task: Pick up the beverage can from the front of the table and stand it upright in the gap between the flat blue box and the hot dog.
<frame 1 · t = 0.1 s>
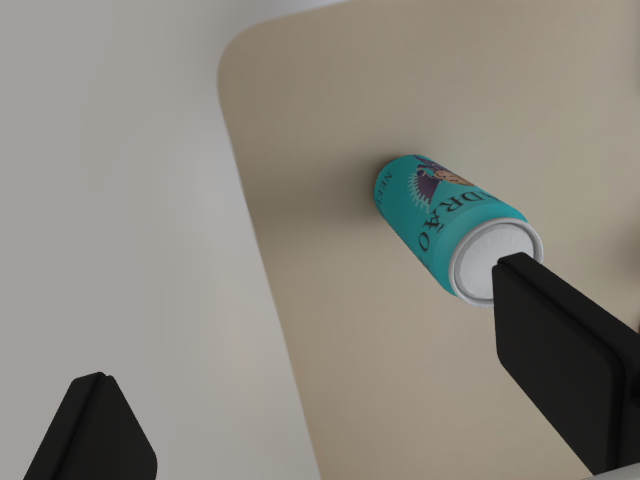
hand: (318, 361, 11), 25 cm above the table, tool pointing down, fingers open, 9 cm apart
beverage can: (401, 184, 37), on the table
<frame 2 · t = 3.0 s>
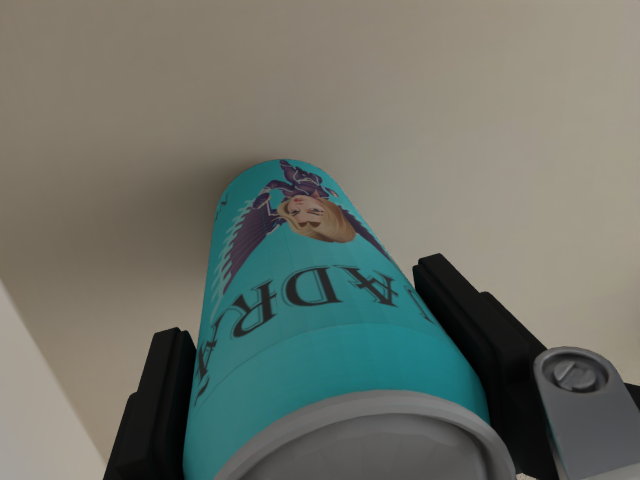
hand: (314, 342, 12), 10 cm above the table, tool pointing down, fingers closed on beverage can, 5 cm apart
beverage can: (279, 211, 21), on the table, touching gripper
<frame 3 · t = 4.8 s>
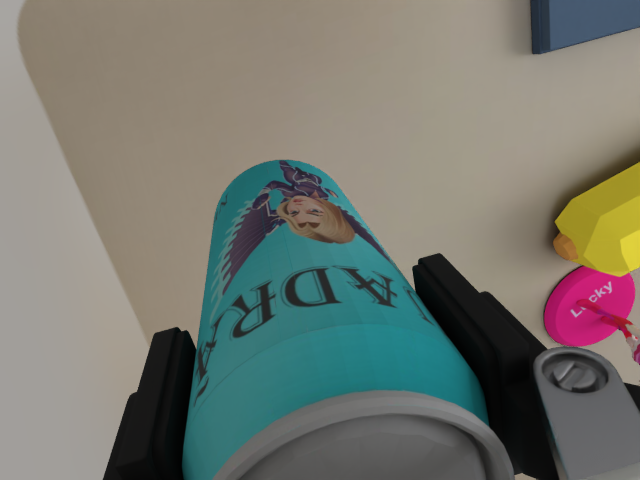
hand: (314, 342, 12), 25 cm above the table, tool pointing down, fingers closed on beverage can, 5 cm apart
figurine: (587, 303, 45), on the table
beverage can: (279, 211, 21), point 14 cm above the table, touching gripper
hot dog: (629, 191, 41), on the table
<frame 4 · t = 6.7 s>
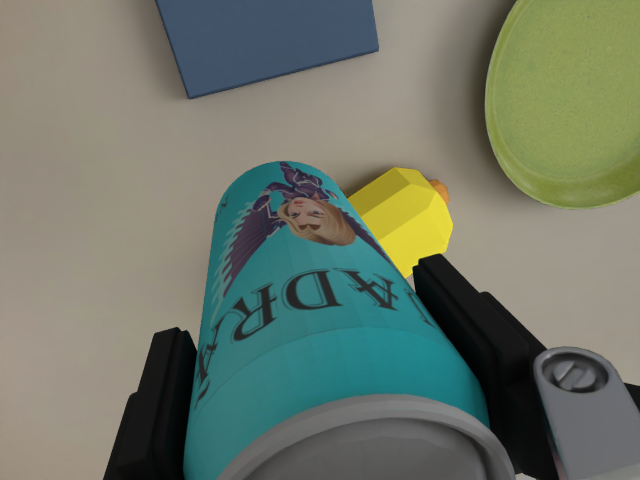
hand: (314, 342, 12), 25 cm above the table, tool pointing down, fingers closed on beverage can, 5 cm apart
flat blue box: (269, 14, 31), on the table
saucer: (584, 77, 37), on the table
beverage can: (280, 212, 21), point 15 cm above the table, touching gripper
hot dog: (347, 236, 39), on the table
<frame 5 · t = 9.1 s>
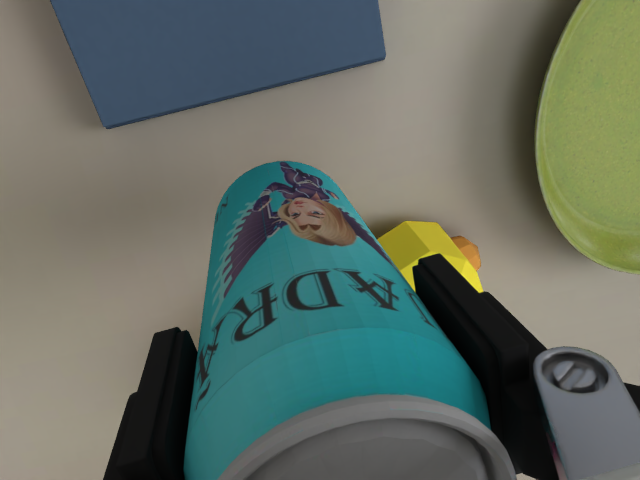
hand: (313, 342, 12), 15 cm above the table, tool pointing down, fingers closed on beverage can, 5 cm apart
flat blue box: (224, 5, 21), on the table
beverage can: (280, 212, 21), point 5 cm above the table, touching gripper
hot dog: (339, 306, 29), on the table
when the fingers open (10 cm above the table, at t = 10.8 s): beverage can stays where it is, on the table.
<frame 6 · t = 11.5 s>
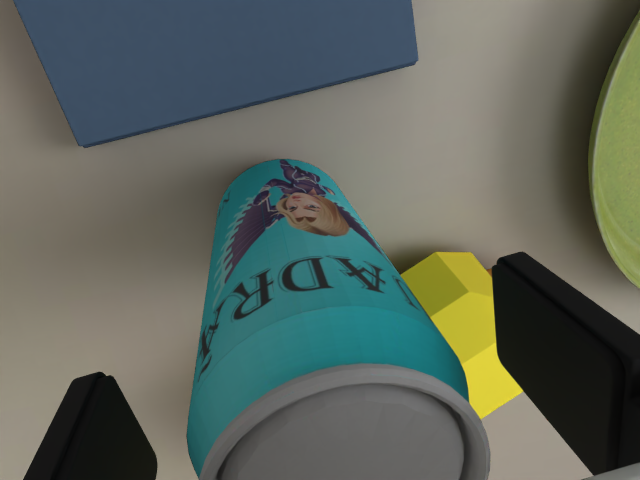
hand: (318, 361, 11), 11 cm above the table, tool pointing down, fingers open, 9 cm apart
beverage can: (280, 209, 21), on the table
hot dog: (356, 345, 25), on the table
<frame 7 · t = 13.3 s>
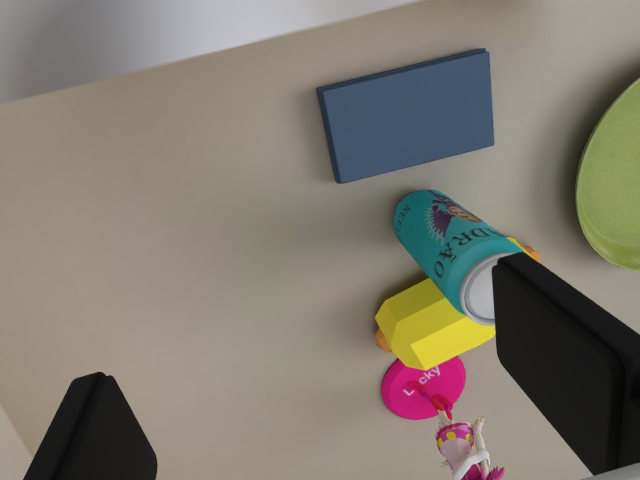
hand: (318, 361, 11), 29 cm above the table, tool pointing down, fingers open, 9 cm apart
flat blue box: (405, 117, 38), on the table
figurine: (422, 382, 50), on the table
beverage can: (416, 213, 42), on the table
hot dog: (447, 289, 46), on the table
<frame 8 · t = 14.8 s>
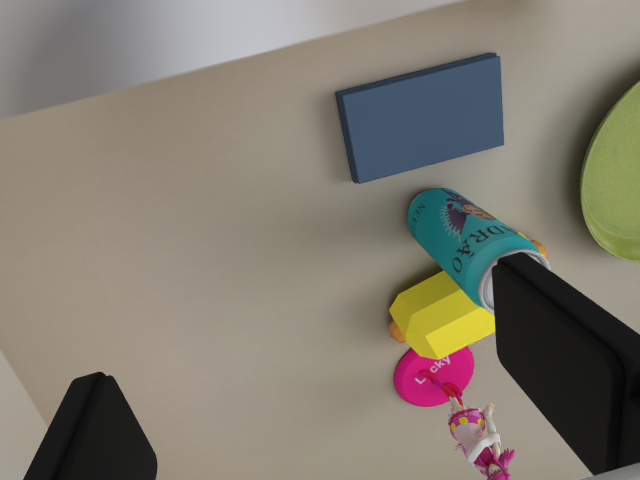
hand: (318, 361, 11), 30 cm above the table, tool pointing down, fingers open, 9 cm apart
flat blue box: (419, 118, 40), on the table
figurine: (433, 371, 52), on the table
beverage can: (429, 210, 44), on the table
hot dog: (457, 282, 48), on the table
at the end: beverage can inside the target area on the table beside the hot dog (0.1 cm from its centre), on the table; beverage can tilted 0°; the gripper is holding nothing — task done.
